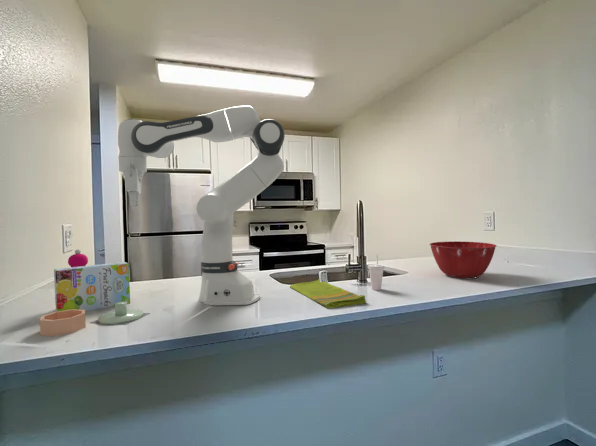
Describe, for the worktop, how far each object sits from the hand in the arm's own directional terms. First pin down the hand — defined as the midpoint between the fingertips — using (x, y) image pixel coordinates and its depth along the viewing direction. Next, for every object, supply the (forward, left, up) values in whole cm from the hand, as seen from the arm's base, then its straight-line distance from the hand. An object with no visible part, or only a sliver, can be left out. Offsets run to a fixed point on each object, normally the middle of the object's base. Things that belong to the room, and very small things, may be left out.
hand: (134, 205), depth 117 cm
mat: (-7, +17, -35) cm, 39 cm away
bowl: (+2, +28, -35) cm, 45 cm away
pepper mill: (+21, +4, -35) cm, 41 cm away
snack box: (+11, +8, -35) cm, 38 cm away
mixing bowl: (-125, -66, -35) cm, 146 cm away
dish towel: (-64, -22, -36) cm, 77 cm away
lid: (-7, +17, -34) cm, 39 cm away
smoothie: (-84, -33, -35) cm, 97 cm away
